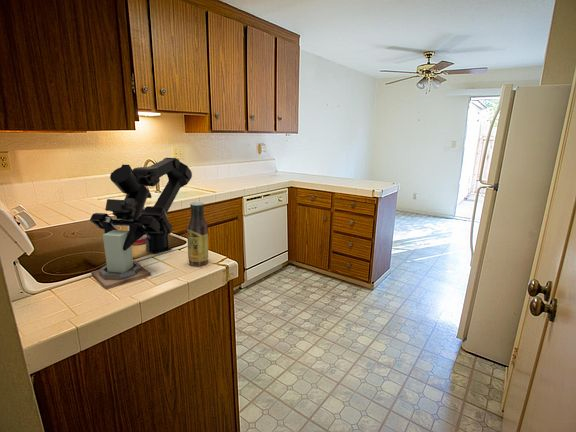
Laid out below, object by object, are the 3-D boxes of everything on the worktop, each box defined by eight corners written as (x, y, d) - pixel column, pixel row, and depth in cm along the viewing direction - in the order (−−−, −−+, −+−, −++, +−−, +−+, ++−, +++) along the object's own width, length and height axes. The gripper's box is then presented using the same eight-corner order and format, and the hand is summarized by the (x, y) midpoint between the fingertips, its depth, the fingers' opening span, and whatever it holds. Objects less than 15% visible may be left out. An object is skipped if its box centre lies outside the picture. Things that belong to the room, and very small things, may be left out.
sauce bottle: (184, 262, 101) (181, 202, 96) (201, 257, 105) (199, 200, 100) (195, 269, 96) (192, 206, 91) (213, 263, 101) (210, 203, 96)
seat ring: (132, 262, 97) (131, 257, 97) (145, 272, 91) (145, 267, 90) (96, 271, 90) (95, 267, 90) (108, 283, 84) (107, 278, 83)
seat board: (134, 263, 99) (134, 260, 99) (151, 275, 91) (150, 272, 91) (91, 274, 90) (91, 271, 90) (106, 289, 83) (105, 285, 82)
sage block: (117, 265, 93) (113, 229, 90) (133, 266, 92) (129, 231, 89) (107, 271, 88) (102, 234, 86) (124, 273, 88) (119, 236, 85)
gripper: (89, 185, 89) (64, 234, 81) (151, 188, 87) (132, 239, 79) (111, 206, 99) (90, 251, 91) (167, 209, 97) (151, 256, 89)
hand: (115, 249), depth 87 cm, fingers closed on sage block, 5 cm apart
